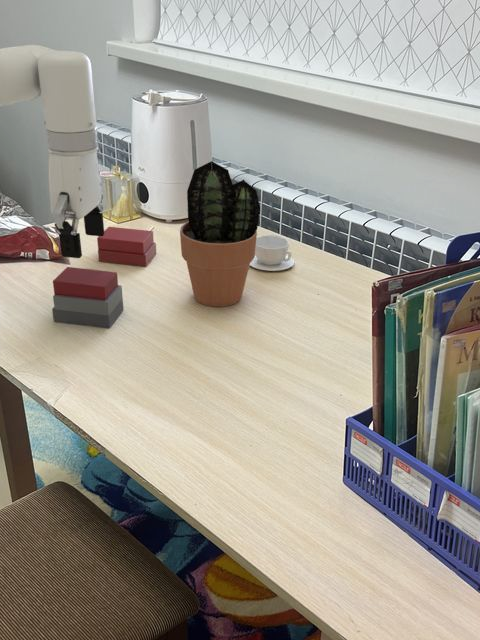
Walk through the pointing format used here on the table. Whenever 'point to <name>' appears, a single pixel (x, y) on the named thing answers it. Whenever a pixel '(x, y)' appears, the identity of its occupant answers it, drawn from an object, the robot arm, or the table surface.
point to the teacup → (272, 253)
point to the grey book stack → (88, 309)
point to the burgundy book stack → (126, 246)
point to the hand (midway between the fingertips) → (83, 245)
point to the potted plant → (219, 235)
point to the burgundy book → (85, 283)
